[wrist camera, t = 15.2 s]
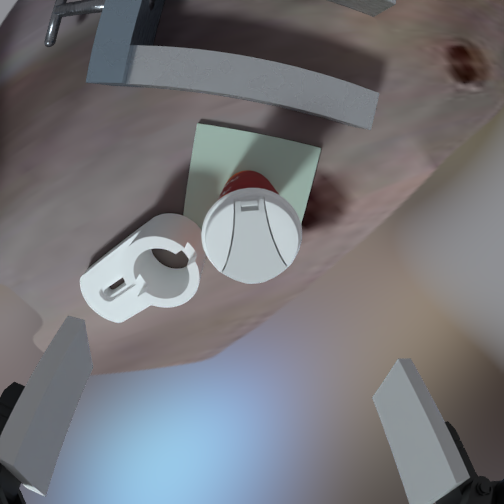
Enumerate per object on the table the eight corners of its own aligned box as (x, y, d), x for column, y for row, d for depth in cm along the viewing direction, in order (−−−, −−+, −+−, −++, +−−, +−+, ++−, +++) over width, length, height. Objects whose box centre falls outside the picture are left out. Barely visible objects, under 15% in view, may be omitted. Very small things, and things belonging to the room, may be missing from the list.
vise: (54, 86, 28) (22, 86, 22) (89, -41, 20) (66, -59, 14) (350, 126, 32) (374, 130, 26) (377, -8, 24) (402, -25, 18)
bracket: (178, 199, 35) (163, 220, 29) (221, 255, 38) (216, 285, 32) (77, 276, 40) (56, 303, 34) (116, 318, 43) (101, 348, 37)
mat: (181, 237, 38) (180, 239, 37) (198, 123, 32) (197, 123, 31) (290, 255, 39) (291, 257, 39) (319, 147, 33) (321, 148, 33)
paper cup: (210, 164, 33) (192, 197, 21) (279, 158, 33) (304, 188, 21) (218, 228, 37) (207, 294, 24) (282, 223, 37) (305, 286, 24)
